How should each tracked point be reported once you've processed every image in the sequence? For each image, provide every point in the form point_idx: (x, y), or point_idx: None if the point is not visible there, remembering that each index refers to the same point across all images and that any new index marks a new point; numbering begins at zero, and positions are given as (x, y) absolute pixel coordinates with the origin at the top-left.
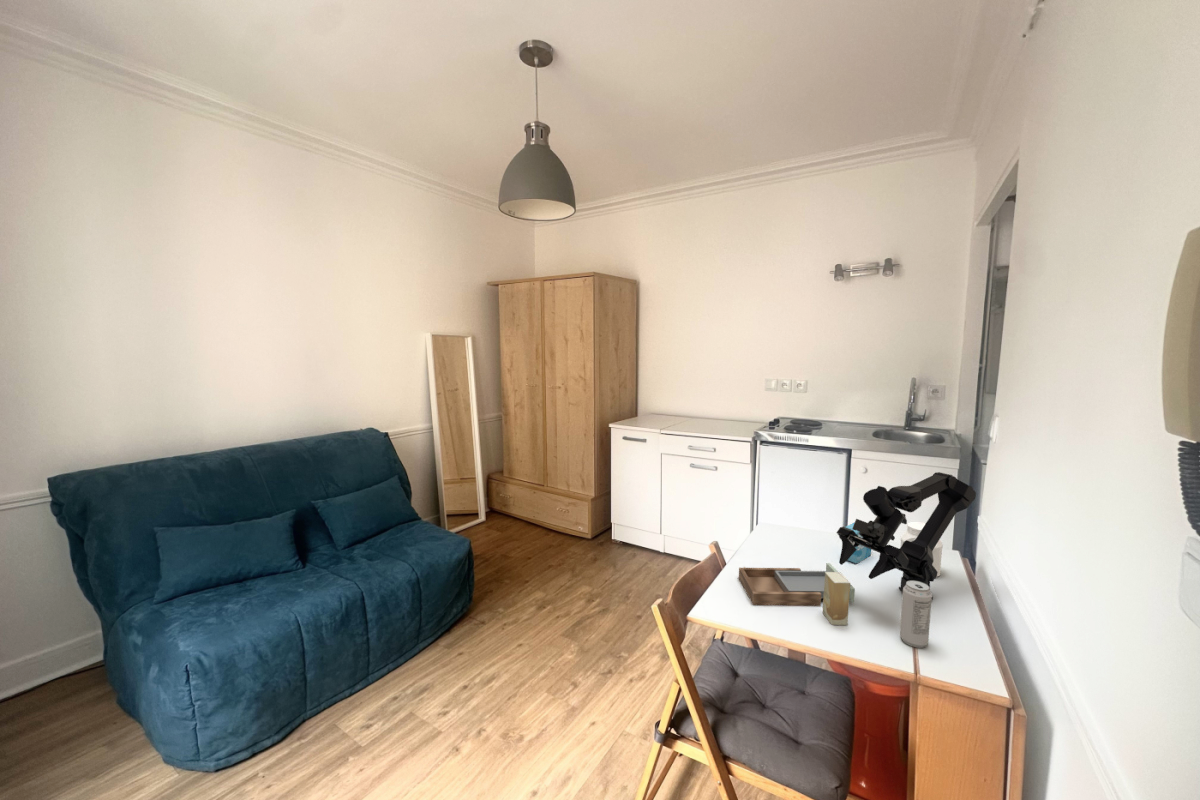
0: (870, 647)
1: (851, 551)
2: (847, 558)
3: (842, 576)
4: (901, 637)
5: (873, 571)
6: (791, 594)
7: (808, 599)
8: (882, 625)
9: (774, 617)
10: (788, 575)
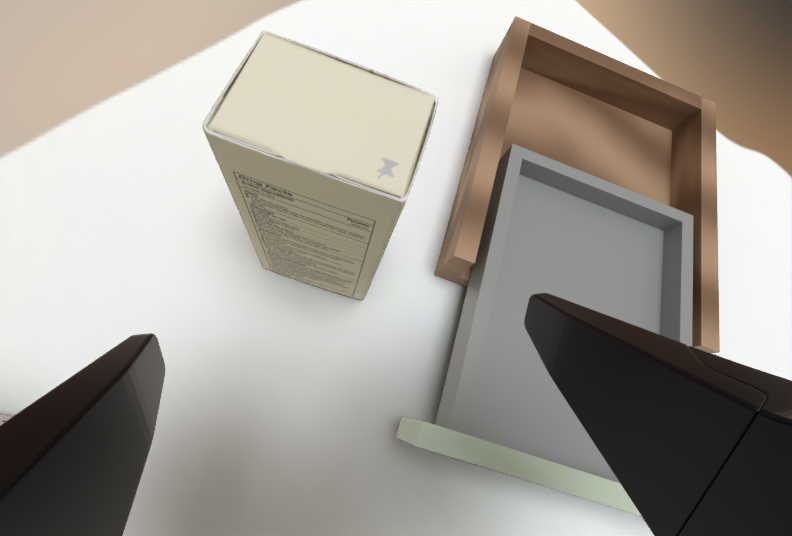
0: (78, 225)
1: (695, 531)
2: (586, 414)
3: (324, 152)
4: (8, 416)
5: (70, 382)
6: (484, 135)
7: (458, 212)
8: (187, 440)
9: (406, 62)
10: (664, 275)
